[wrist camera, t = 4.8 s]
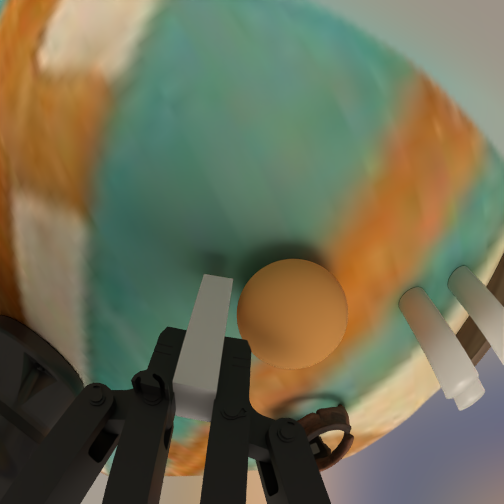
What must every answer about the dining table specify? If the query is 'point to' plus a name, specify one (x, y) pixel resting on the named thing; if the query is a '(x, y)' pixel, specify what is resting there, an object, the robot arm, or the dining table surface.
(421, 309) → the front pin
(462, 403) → the pin
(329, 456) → the pottery mug
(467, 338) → the back wall
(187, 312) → the dining table surface
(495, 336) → the pin
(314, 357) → the ball
